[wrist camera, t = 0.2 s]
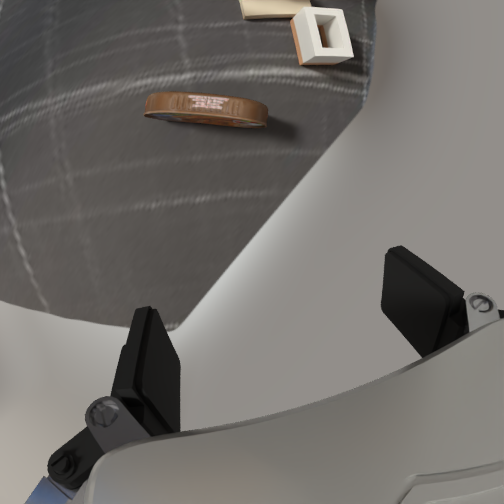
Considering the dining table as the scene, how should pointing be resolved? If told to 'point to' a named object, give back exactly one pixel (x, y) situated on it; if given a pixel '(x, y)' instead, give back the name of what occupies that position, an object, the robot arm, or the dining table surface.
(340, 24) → the sleeve
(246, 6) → the pin board
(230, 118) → the tin
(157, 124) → the dining table surface
